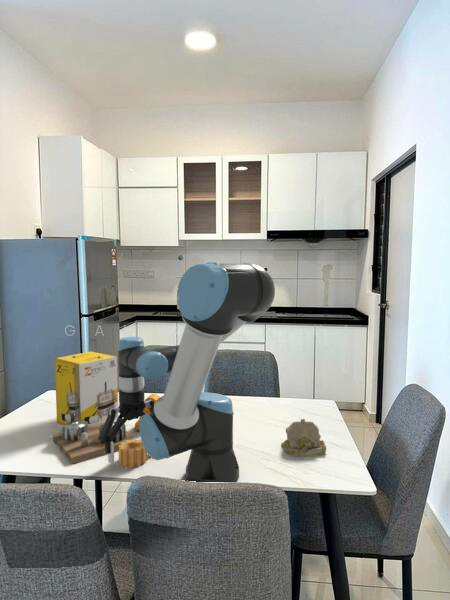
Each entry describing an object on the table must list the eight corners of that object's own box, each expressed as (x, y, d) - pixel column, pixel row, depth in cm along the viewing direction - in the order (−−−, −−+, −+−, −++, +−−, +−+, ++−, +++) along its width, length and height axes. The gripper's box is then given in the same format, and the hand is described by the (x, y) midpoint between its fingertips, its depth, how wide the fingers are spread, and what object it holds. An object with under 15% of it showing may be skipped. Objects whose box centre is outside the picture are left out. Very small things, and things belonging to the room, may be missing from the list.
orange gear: (152, 461, 121) (151, 445, 121) (126, 470, 116) (125, 453, 116) (139, 452, 128) (139, 436, 128) (114, 459, 123) (114, 443, 123)
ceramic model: (282, 456, 125) (282, 425, 124) (280, 441, 136) (280, 412, 135) (327, 458, 124) (328, 426, 123) (322, 442, 135) (323, 413, 134)
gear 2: (129, 439, 133) (129, 425, 133) (105, 445, 128) (104, 431, 128) (119, 430, 140) (119, 417, 139) (96, 437, 135) (95, 423, 134)
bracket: (134, 431, 144) (133, 399, 143) (141, 424, 151) (140, 393, 150) (162, 433, 143) (162, 400, 142) (168, 425, 150) (168, 394, 149)
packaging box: (81, 433, 143) (79, 364, 141) (56, 422, 153) (54, 358, 151) (118, 419, 156) (116, 356, 154) (93, 410, 166) (91, 351, 164)
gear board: (136, 445, 133) (136, 427, 133) (71, 464, 120) (71, 444, 120) (112, 425, 150) (111, 410, 149) (53, 440, 137) (52, 423, 136)
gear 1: (92, 437, 135) (91, 416, 134) (66, 443, 130) (65, 422, 129) (83, 429, 142) (83, 409, 141) (59, 435, 136) (58, 415, 136)
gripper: (162, 378, 131) (162, 441, 133) (85, 393, 116) (87, 463, 118) (173, 384, 125) (174, 449, 127) (95, 400, 110) (96, 474, 112)
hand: (132, 456), depth 122 cm, fingers open, 13 cm apart
